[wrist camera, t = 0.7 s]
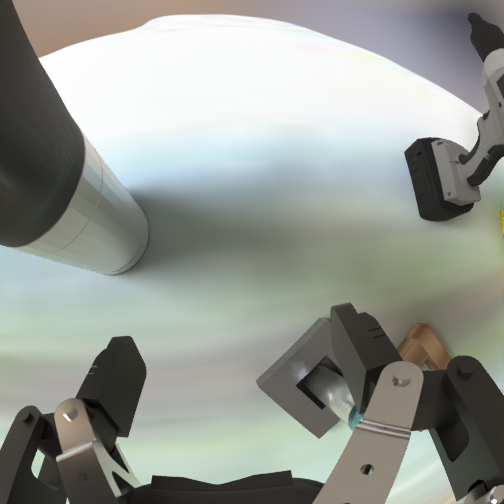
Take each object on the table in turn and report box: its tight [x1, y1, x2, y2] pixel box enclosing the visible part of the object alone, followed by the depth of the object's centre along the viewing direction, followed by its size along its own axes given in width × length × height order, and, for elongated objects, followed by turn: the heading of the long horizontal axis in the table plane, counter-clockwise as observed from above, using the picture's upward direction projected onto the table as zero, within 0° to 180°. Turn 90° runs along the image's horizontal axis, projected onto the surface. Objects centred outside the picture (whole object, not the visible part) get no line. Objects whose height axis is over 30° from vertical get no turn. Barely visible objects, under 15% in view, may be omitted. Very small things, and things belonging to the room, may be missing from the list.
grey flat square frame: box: [256, 318, 344, 439], centre depth 29 cm, size 10×10×2 cm
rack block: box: [397, 324, 452, 432], centre depth 30 cm, size 12×10×2 cm
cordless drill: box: [405, 13, 504, 221], centre depth 25 cm, size 8×24×25 cm, turn 4°
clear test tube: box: [304, 365, 365, 431], centre depth 22 cm, size 3×3×16 cm
